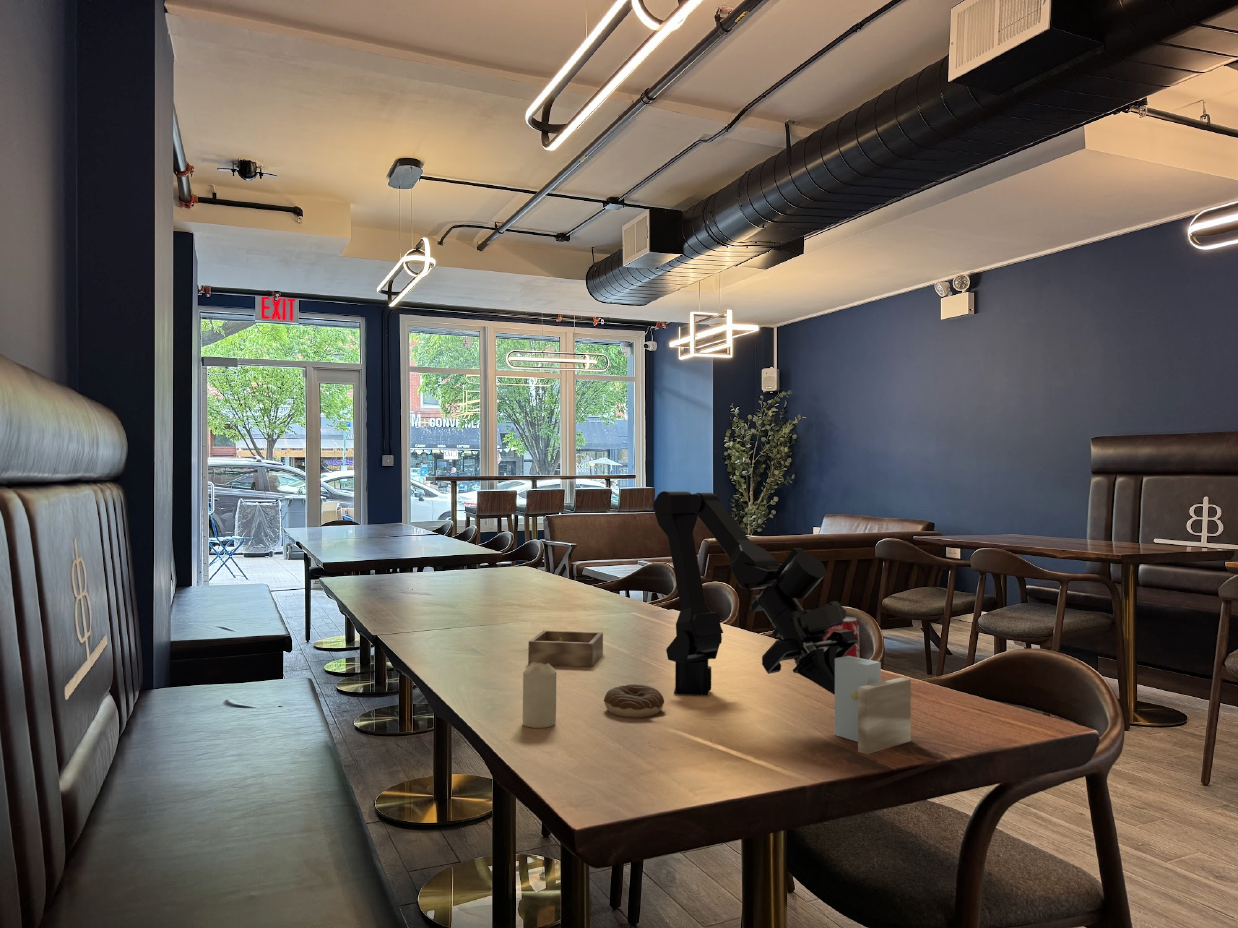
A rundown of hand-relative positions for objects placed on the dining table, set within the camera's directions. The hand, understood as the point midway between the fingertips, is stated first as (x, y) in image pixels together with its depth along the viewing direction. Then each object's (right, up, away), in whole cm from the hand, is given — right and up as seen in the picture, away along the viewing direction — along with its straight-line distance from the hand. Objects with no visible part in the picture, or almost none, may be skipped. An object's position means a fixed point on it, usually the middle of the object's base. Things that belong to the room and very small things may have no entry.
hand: (840, 694), depth 130 cm
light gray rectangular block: (+2, -6, -3) cm, 7 cm away
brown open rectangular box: (-47, -8, +58) cm, 75 cm away
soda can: (+10, -8, +37) cm, 40 cm away
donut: (-33, -7, +14) cm, 36 cm away
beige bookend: (0, -7, -1) cm, 7 cm away
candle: (-49, -7, +5) cm, 49 cm away
